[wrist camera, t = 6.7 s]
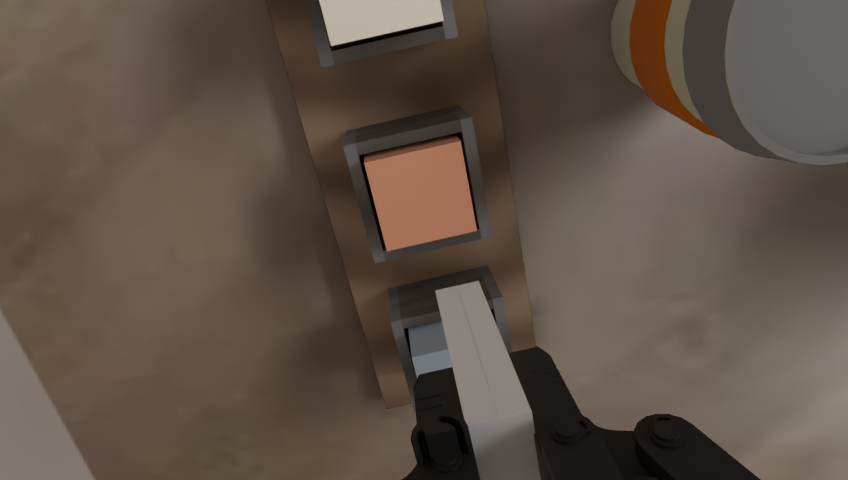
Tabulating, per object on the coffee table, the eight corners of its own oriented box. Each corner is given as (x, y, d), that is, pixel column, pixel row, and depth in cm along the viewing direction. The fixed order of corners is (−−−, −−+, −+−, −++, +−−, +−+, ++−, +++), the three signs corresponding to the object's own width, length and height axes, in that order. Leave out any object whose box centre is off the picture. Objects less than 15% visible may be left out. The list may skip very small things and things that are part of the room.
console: (234, -122, 31) (200, -158, 25) (453, -171, 31) (473, -219, 25) (385, 397, 45) (388, 454, 39) (534, 363, 45) (559, 414, 39)
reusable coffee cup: (620, -105, 33) (802, -200, 19) (796, -55, 35) (1075, -107, 21) (560, 99, 37) (672, 143, 23) (719, 134, 39) (909, 193, 25)
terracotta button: (364, 144, 35) (364, 162, 30) (448, 125, 35) (460, 141, 30) (384, 223, 37) (386, 251, 32) (463, 205, 37) (476, 230, 32)
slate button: (406, 316, 37) (411, 357, 33) (484, 298, 37) (500, 337, 33) (422, 380, 40) (429, 427, 35) (496, 363, 40) (513, 408, 35)
